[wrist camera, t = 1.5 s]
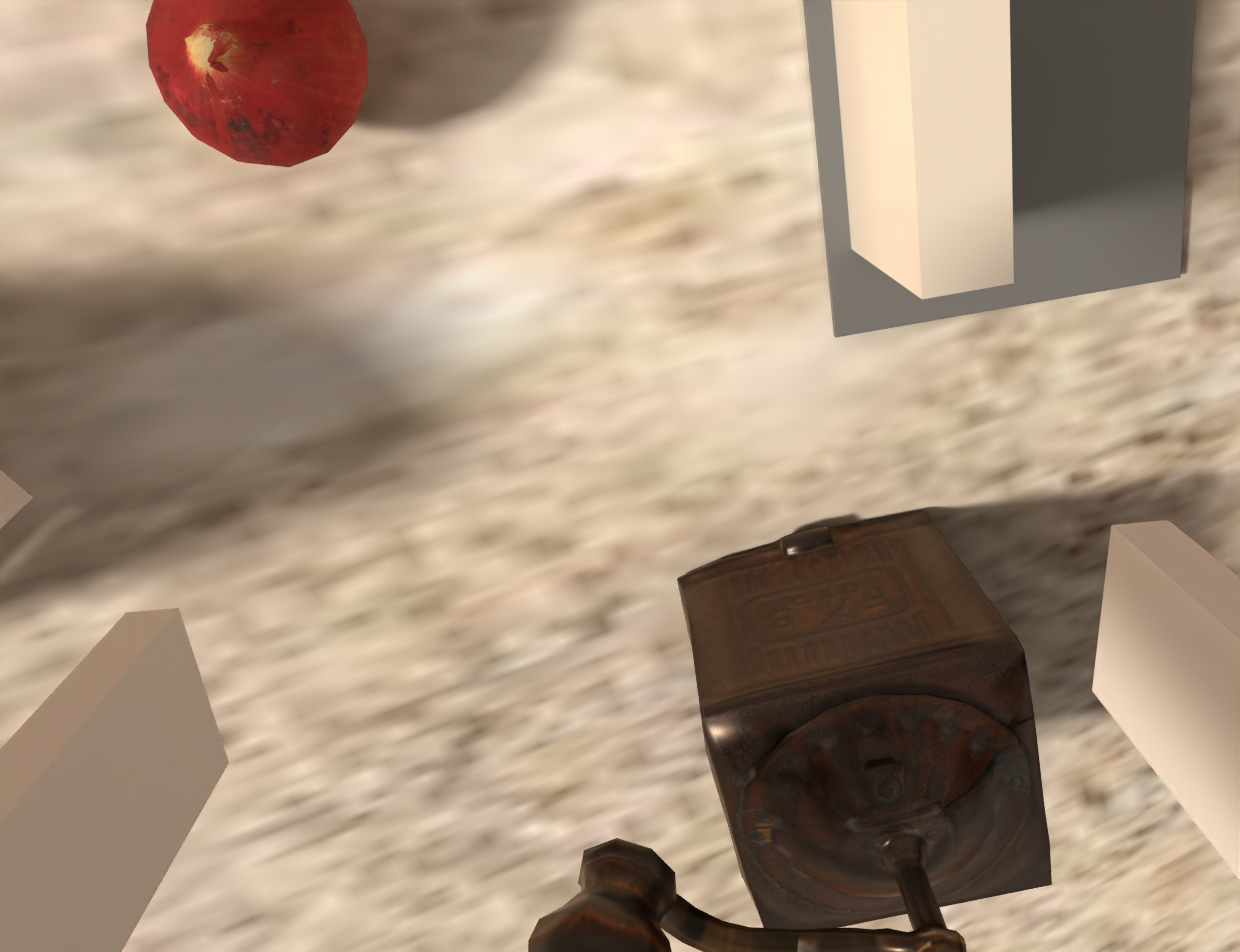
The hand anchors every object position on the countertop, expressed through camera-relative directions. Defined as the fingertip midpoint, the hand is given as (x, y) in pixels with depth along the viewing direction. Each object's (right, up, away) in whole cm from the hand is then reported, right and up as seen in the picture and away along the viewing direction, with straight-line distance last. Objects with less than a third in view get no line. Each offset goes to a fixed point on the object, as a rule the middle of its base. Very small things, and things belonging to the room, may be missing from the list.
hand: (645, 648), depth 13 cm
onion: (-11, +16, +17) cm, 25 cm away
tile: (+8, +14, +17) cm, 24 cm away
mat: (+12, +15, +17) cm, 26 cm away
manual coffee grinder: (+6, -5, +26) cm, 27 cm away
